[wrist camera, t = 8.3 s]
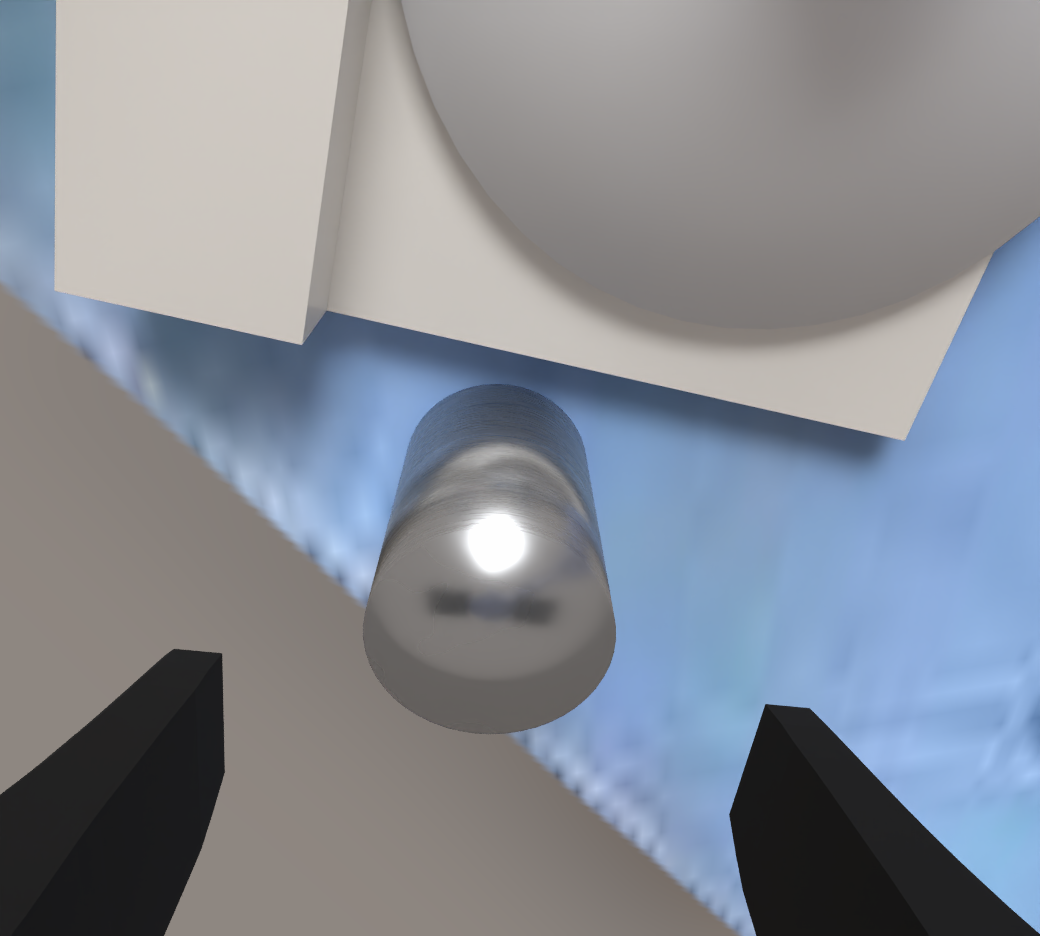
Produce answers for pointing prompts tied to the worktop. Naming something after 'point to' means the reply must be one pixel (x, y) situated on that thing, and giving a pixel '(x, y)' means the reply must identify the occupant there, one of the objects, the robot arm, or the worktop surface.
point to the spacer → (492, 568)
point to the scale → (562, 178)
